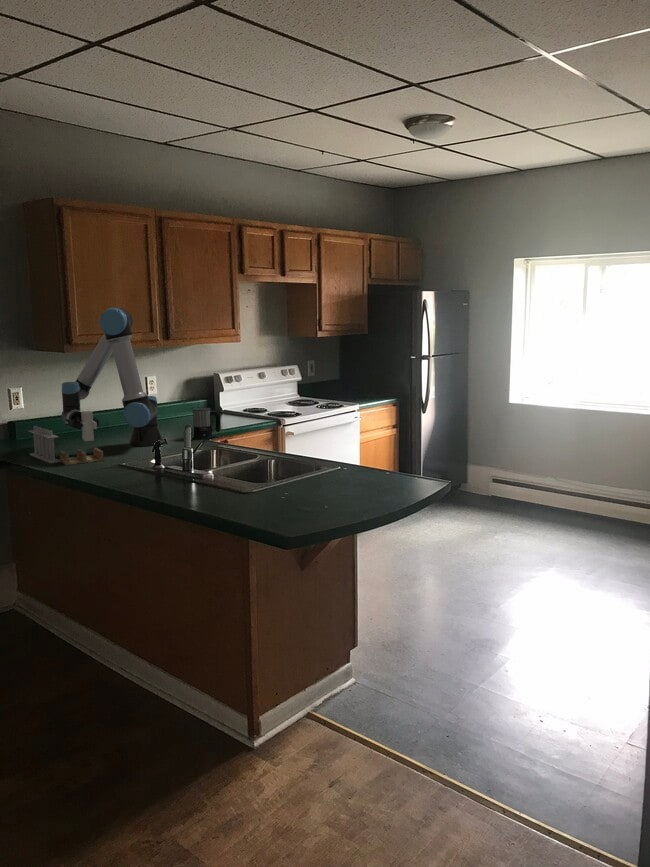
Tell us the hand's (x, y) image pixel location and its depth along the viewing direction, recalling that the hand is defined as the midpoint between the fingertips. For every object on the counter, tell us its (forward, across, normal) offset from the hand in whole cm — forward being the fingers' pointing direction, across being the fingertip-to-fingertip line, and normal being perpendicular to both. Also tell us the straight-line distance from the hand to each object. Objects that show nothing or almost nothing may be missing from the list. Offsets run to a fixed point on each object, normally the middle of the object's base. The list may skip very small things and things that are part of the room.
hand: (90, 426), depth 299 cm
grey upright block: (-5, 0, -7) cm, 9 cm away
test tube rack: (-20, +15, -16) cm, 29 cm away
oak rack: (-5, +3, -15) cm, 16 cm away
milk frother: (-35, -64, -15) cm, 74 cm away
